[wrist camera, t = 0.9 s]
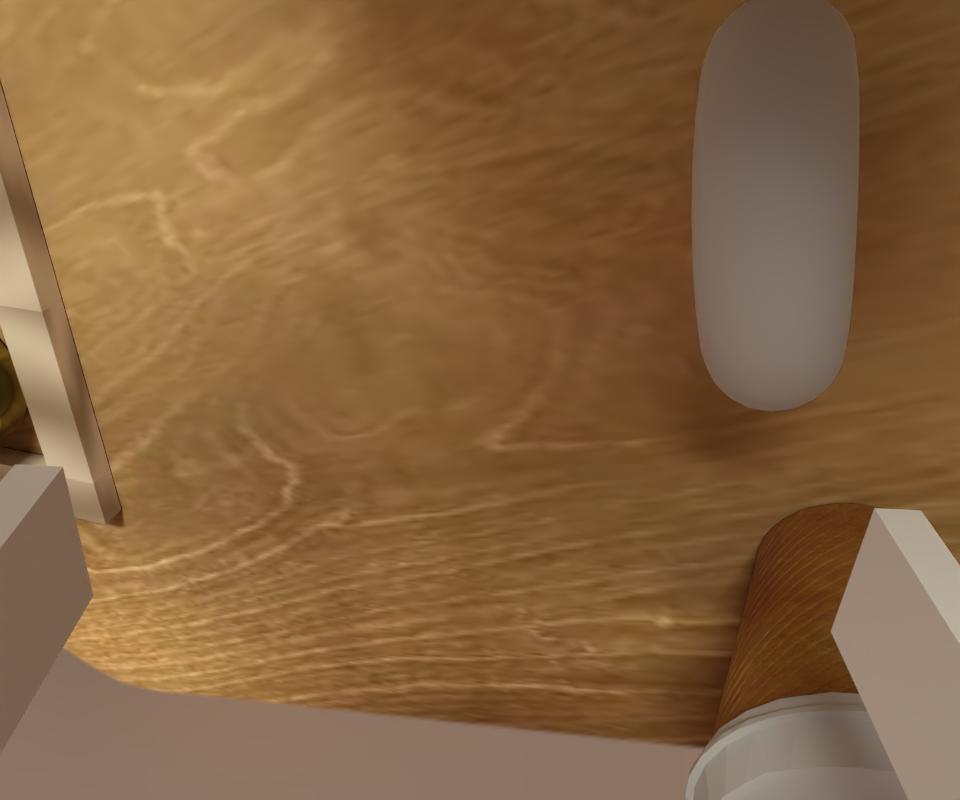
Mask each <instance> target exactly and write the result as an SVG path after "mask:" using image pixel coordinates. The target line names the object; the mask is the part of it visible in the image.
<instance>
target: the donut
mask: <svg viewBox="0 0 960 800" xmlns="http://www.w3.org/2000/svg"><path fill="white" fill-rule="evenodd" d="M859 147H860V99H859V73H858V63H857V54H856V45H855V36H854V34H853V32H852V30H851V28H850V26H849V24H848V22H847V20H846V18H845V16H844V15H843V14H842V13H841V12H840V11H839V10H838V9H837V8H836V7H835V6H834V5H832V4H831V3H830V2H829V1H828V0H748V1H746V2H745V3H743V4H742V5H740V6H739V7H737V8H736V9H734V10H733V11H732V12H731V13H730V14H729V15H728V17H727V18H726V19H725V20H724V21H723V23H722V24H721V25H720V26H719V27H718V28H717V30H716V31H715V33H714V36H713V38H712V40H711V42H710V45H709V47H708V49H707V51H706V54H705V58H704V61H703V65H702V68H701V73H700V81H699V89H698V98H697V106H696V116H695V127H694V144H693V161H692V205H691V225H692V267H693V283H694V300H695V310H696V320H697V327H698V335H699V343H700V350H701V353H702V356H703V359H704V363H705V365H706V367H707V369H708V371H709V373H710V375H711V377H712V379H713V381H714V383H715V384H716V385H717V386H718V387H719V388H720V389H721V390H722V391H723V392H724V393H725V394H726V395H727V396H728V397H729V398H730V399H732V400H734V401H736V402H738V403H740V404H742V405H744V406H746V407H748V408H752V409H757V410H763V411H769V412H774V411H782V410H790V409H795V408H797V407H799V406H801V405H804V404H806V403H808V402H810V401H813V400H815V399H816V398H817V397H818V396H819V395H820V394H821V393H823V392H824V391H825V390H826V389H827V388H828V387H829V386H830V385H832V383H833V381H834V379H835V378H836V376H837V374H838V373H839V371H840V369H841V367H842V366H843V361H844V356H845V351H846V346H847V340H848V335H849V330H850V321H851V311H852V301H853V287H854V273H855V258H856V238H857V217H858V188H859Z"/></svg>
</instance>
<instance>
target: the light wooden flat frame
mask: <svg viewBox="0 0 960 800" xmlns="http://www.w3.org/2000/svg"><path fill="white" fill-rule="evenodd" d="M0 325H1V328H2V331H3V334H4V338H5V341H6V344H7V347H8V350H9V353H10V356H11V359H12V362H13V365H14V368H15V371H16V374H17V377H18V380H19V383H20V386H21V389H22V392H23V395H24V398H25V401H26V404H27V407H28V410H29V413H30V416H31V419H32V422H33V425H34V428H35V431H36V434H37V437H38V440H39V443H40V446H41V449H42V452H43V455H44V456H43V455H38V454H33V453H28V452H24V451H19V450H14V449H9V448H4V447H0V481H1V480H2V479H3V478H4V477H5V475H6V474H7V473H8V472H9V471H10V470H11V469H12V467H13V466H14V465H15V464H18V465H37V466H57V467H63V469H64V473H65V478H66V482H67V486H68V490H69V494H70V499H71V503H72V507H73V511H74V516H75V518H79V519H83V520H88V521H92V522H97V523H101V524H105V525H106V524H107V523H108V522H109V521H110V520H111V519H112V518H113V517H114V516H115V515H116V514H118V513H119V512H120V511H121V506H120V503H119V499H118V496H117V492H116V489H115V485H114V482H113V478H112V475H111V471H110V468H109V464H108V460H107V457H106V453H105V450H104V446H103V443H102V439H101V436H100V432H99V429H98V425H97V422H96V418H95V415H94V411H93V408H92V404H91V401H90V397H89V394H88V390H87V387H86V383H85V380H84V376H83V372H82V369H81V365H80V362H79V358H78V355H77V351H76V348H75V344H74V341H73V337H72V334H71V330H70V327H69V323H68V320H67V316H66V313H65V309H64V306H63V302H62V299H61V295H60V292H59V288H58V284H57V281H56V277H55V274H54V270H53V267H52V263H51V260H50V256H49V253H48V249H47V246H46V242H45V239H44V235H43V232H42V228H41V225H40V221H39V218H38V214H37V211H36V207H35V204H34V200H33V196H32V193H31V189H30V186H29V182H28V179H27V175H26V172H25V168H24V165H23V161H22V158H21V154H20V151H19V147H18V144H17V140H16V137H15V133H14V130H13V126H12V123H11V119H10V116H9V112H8V109H7V105H6V101H5V98H4V94H3V91H2V87H1V84H0Z"/></svg>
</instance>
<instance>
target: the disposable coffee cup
mask: <svg viewBox="0 0 960 800" xmlns="http://www.w3.org/2000/svg"><path fill="white" fill-rule="evenodd" d="M874 508H876V507H871V506H866V505H860V504H850V503H834V504H827V505H819V506H814V507H810V508H807V509H803V510H800V511H798V512H796V513H794V514H792V515H790V516H788V517H786V518H784V519H783V520H782V521H780V522H779V523H778V524H777V525H775V526H774V527H773V528H772V529H771V530H770V531H769V532H768V533H767V534H766V535H765V537H764V539H763V541H762V542H761V544H760V546H759V548H758V552H757V557H756V562H755V566H754V570H753V574H752V579H751V582H750V586H749V590H748V594H747V598H746V602H745V606H744V610H743V614H742V617H741V621H740V625H739V629H738V634H737V638H736V642H735V646H734V651H733V654H732V657H731V661H730V666H729V670H728V673H727V677H726V682H725V685H724V689H723V694H722V698H721V701H720V705H719V710H718V714H717V718H716V721H715V725H714V730H713V733H712V738H711V740H710V741H709V743H708V744H707V745H706V747H705V748H704V750H703V752H702V753H701V755H700V756H699V758H698V759H697V761H696V762H695V763H694V765H693V766H692V768H691V769H690V773H689V778H688V782H687V786H686V791H685V800H908V798H907V796H906V794H905V792H904V790H903V788H902V785H901V783H900V781H899V779H898V777H897V775H896V772H895V770H894V768H893V766H892V764H891V761H890V759H889V757H888V755H887V753H886V751H885V748H884V746H883V744H882V742H881V740H880V738H879V735H878V733H877V731H876V729H875V727H874V725H873V722H872V720H871V718H870V716H869V714H868V711H867V709H866V707H865V705H864V703H863V701H862V698H861V696H860V694H859V692H858V690H857V688H856V685H855V683H854V681H853V679H852V677H851V675H850V672H849V670H848V668H847V666H846V664H845V662H844V659H843V657H842V655H841V653H840V651H839V648H838V646H837V644H836V642H835V640H834V638H833V635H832V633H831V629H832V626H833V624H834V621H835V618H836V615H837V612H838V609H839V607H840V604H841V601H842V598H843V595H844V593H845V590H846V587H847V584H848V581H849V578H850V576H851V573H852V570H853V567H854V564H855V561H856V559H857V556H858V553H859V550H860V547H861V544H862V542H863V539H864V536H865V533H866V530H867V528H868V525H869V522H870V519H871V516H872V513H873V511H874Z"/></svg>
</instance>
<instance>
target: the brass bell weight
mask: <svg viewBox="0 0 960 800" xmlns="http://www.w3.org/2000/svg"><path fill="white" fill-rule="evenodd" d="M26 410H27V404H26V401H25V398H24V395H23V392H22V389H21V386H20V383H19V380H18V377H17V374H16V371H15V368H14V365H13V362H12V359H11V356H10V353H9V351H8V350H7V349H6V347H5V346H4V345H3V344H2V342H1V341H0V439H2V438H3V437H5V436H6V435H8V434H9V433H10V432H12V431H13V430H15V429H16V428H17V427H18V426H19V425H20V424H21V423H22V421H23V419H24V417H25V414H26Z"/></svg>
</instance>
